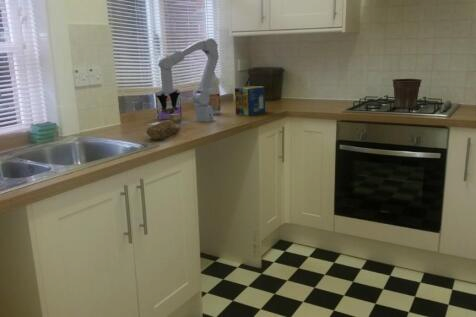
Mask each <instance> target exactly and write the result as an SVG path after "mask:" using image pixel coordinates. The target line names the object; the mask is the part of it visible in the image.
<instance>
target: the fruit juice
mask: <svg viewBox="0 0 476 317" xmlns="http://www.w3.org/2000/svg"><path fill="white" fill-rule="evenodd" d="M219 85H220V81H219V78H218V76H216V71H214V74H213V78H212V81H211V84H210V87H209V91H210V94H209V103H208V105H209V106H211V107H212V108H213V116H215V115H219V114H221V92H220V91H221V90H220V88H219Z"/></svg>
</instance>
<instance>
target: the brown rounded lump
mask: <svg viewBox="0 0 476 317" xmlns="http://www.w3.org/2000/svg"><path fill="white" fill-rule="evenodd" d="M180 130H181V126H180V125H178V124H176V123H173V122H170V121H166V122H161V123H159V124H157V125H154V126H148V128H147V129H146V134H147V135H148V137H149V138H150V139H152V140H153V139H154V140H163V139H166V138H168V136H170V135H175V134H177V133H178V134H179V132H180Z"/></svg>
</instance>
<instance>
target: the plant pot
mask: <svg viewBox="0 0 476 317" xmlns="http://www.w3.org/2000/svg"><path fill="white" fill-rule="evenodd" d="M391 81H392V86H393V99H394V108H395V107H396V108H397V109H404V110H406V109H407V110H409V108H410V109H416V108H417V106H418V98H419V92H420V88H421V83H422V81H423V80H422V79H421V78H420V79H419V78H397V79H396V78H395V79H392V80H391Z"/></svg>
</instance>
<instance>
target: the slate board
mask: <svg viewBox="0 0 476 317" xmlns="http://www.w3.org/2000/svg"><path fill="white" fill-rule="evenodd" d="M157 122H158V123H161V122H160V121H157ZM190 122H191V121H186V120H181V123H177V124H178V125H179V126H180V125H183V124H187V123H190ZM145 126H148V127H152V126H154V125H148V124H146V125H145Z"/></svg>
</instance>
